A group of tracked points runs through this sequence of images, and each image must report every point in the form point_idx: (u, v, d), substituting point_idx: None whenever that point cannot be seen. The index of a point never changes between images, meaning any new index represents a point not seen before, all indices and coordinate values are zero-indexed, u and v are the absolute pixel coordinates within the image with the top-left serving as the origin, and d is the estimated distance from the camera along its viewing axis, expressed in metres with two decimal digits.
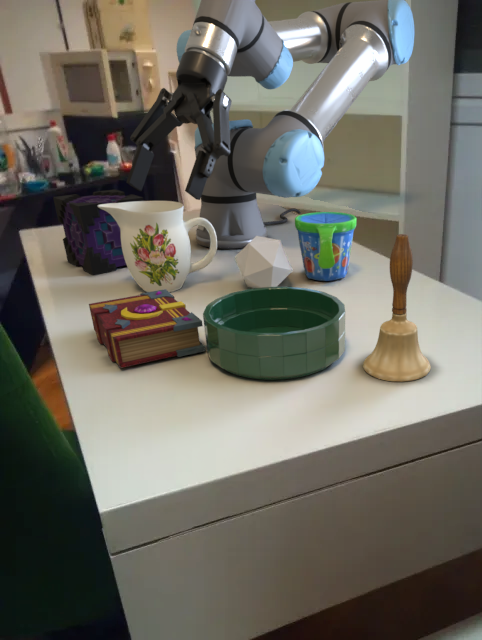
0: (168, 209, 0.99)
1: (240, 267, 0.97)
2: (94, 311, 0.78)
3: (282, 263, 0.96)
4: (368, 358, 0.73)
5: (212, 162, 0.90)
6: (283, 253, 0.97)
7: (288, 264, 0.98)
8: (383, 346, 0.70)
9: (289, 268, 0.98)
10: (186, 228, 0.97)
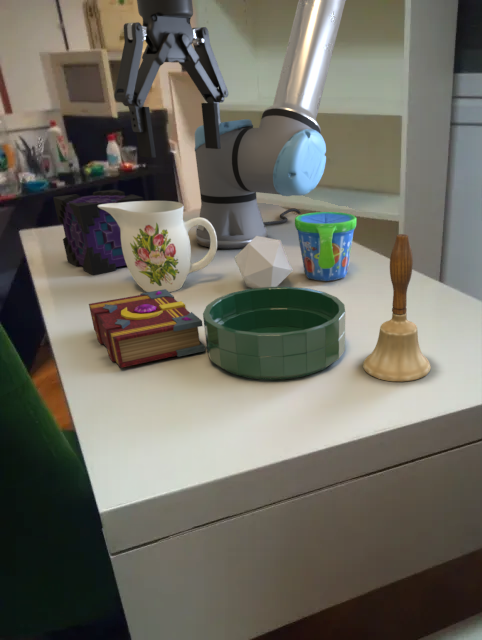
0: (168, 209, 0.99)
1: (240, 267, 0.97)
2: (94, 311, 0.78)
3: (282, 263, 0.96)
4: (368, 358, 0.73)
5: None
6: (283, 253, 0.97)
7: (288, 264, 0.98)
8: (383, 346, 0.70)
9: (289, 268, 0.98)
10: (186, 228, 0.97)
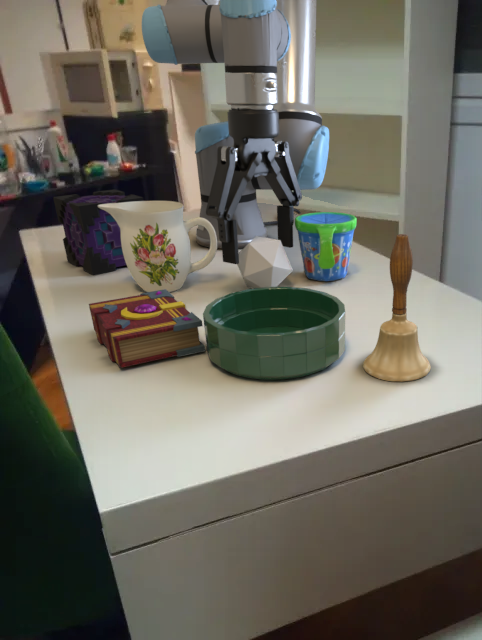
0: (168, 209, 0.99)
1: (240, 267, 0.97)
2: (94, 311, 0.78)
3: (282, 263, 0.96)
4: (368, 358, 0.73)
5: None
6: (283, 253, 0.97)
7: (288, 264, 0.98)
8: (383, 346, 0.70)
9: (289, 268, 0.98)
10: (186, 228, 0.97)
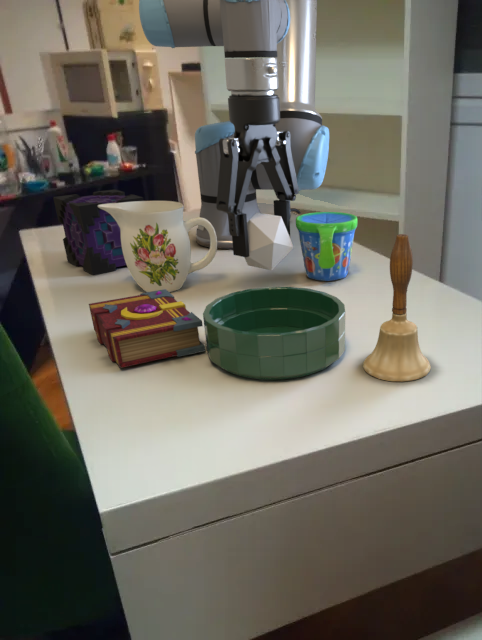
0: (168, 209, 0.99)
1: None
2: (94, 311, 0.78)
3: (283, 240, 0.95)
4: (368, 358, 0.73)
5: None
6: (284, 230, 0.95)
7: (289, 241, 0.96)
8: (383, 346, 0.70)
9: (290, 245, 0.96)
10: (186, 228, 0.97)
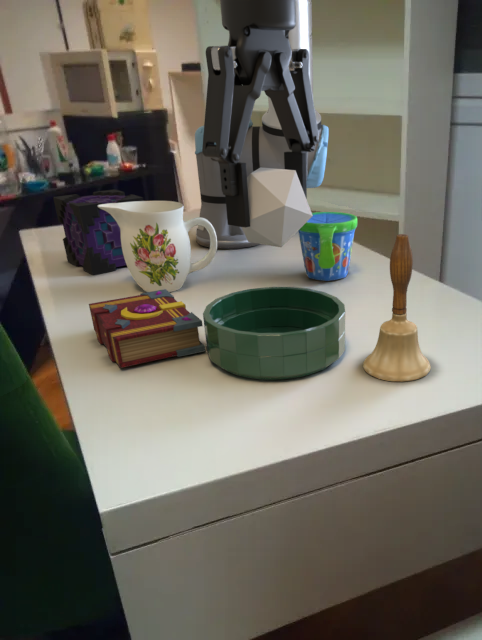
0: (168, 209, 0.99)
1: None
2: (94, 311, 0.78)
3: (298, 203, 0.67)
4: (368, 358, 0.73)
5: None
6: (299, 189, 0.67)
7: (307, 206, 0.68)
8: (383, 346, 0.70)
9: (307, 212, 0.68)
10: (186, 228, 0.97)
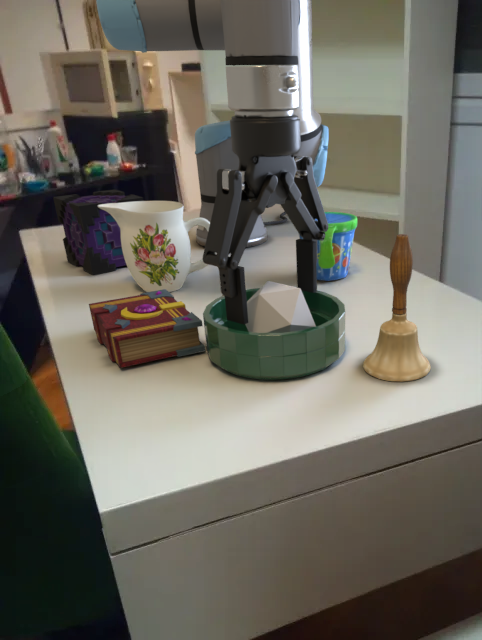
0: (168, 209, 0.99)
1: (247, 324, 0.73)
2: (94, 311, 0.78)
3: (303, 319, 0.72)
4: (368, 358, 0.73)
5: None
6: (304, 305, 0.73)
7: (311, 319, 0.74)
8: (383, 346, 0.70)
9: (311, 324, 0.74)
10: (186, 228, 0.97)
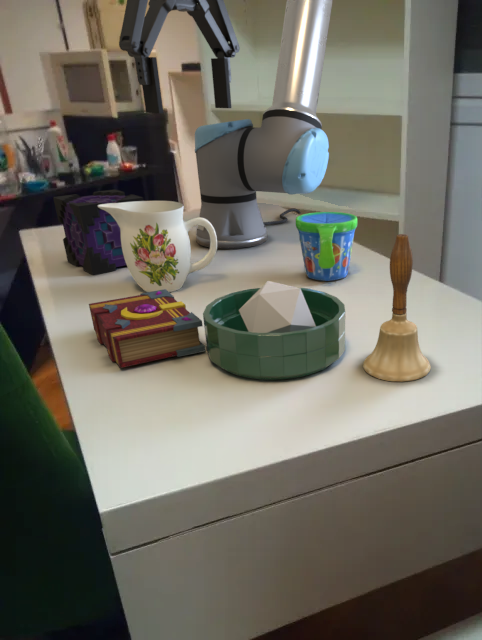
0: (168, 209, 0.99)
1: (247, 324, 0.73)
2: (94, 311, 0.78)
3: (303, 319, 0.72)
4: (368, 358, 0.73)
5: None
6: (304, 305, 0.73)
7: (310, 319, 0.74)
8: (383, 346, 0.70)
9: (311, 324, 0.74)
10: (186, 228, 0.97)
